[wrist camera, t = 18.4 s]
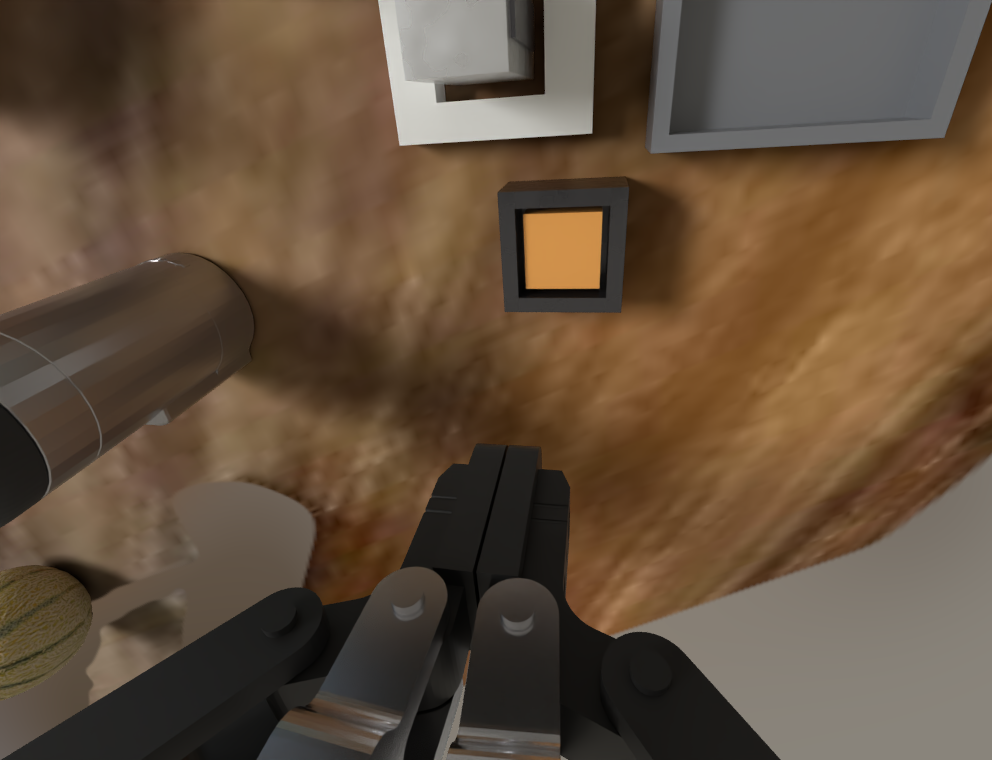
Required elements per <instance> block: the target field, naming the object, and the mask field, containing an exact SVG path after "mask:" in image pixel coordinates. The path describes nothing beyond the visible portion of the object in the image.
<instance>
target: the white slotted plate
mask: <svg viewBox="0 0 992 760" xmlns="http://www.w3.org/2000/svg"><path fill="white" fill-rule="evenodd" d="M378 2H379V9H380V16H381V22H382V29H383V36H384V43H385V49H386V56H387V63H388V70H389V76H390V83H391V90H392V97H393V104H394V110H395V117H396V124H397V131H398V137H399V144H400V146H401V145H417V144H433V143H449V142H465V141H481V140H497V139H513V138H529V137H545V136H561V135H577V134H592V128H593V93H594V58H595V23H596V0H544V49H545V94H543V95H530V96H517V97H505V98H492V99H479V100H467V101H454V102H446V96H445V86H444V84H436V83H425V82H414V81H405V75H404V67H403V60H402V52H401V45H400V38H399V30H398V23H397V15H396V8H395V0H378Z"/></svg>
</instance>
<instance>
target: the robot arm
mask: <svg viewBox="0 0 992 760" xmlns="http://www.w3.org/2000/svg"><path fill="white" fill-rule="evenodd" d="M253 335H254V320H253V315H252V312H251V309H250V306H249V303H248V302H247V300H246V298H245V296H244V294H243V292H242V291H241V290H240V288H239V287H238V286H237V284H236V283H235V282H234V281H233V280H232V279H231V278H230V277H229V276H228V275H227V274H226V273H225V272H224V271H223V270H221V269H220V268H219V267H217V266H216V265H215V264H213V263H211V262H209V261H207V260H205V259H203V258H201V257H198V256H195V255H192V254H187V253H172V254H167V255H164V256H161V257H159V258H156V259H153V260H152V259H151V260H148V261H145V262H143V263H140V264H139V265H136V266H134V267H131V268H128V269H125V270H122V271H120V272H117V273H114V274H111V275H109V276H106V277H103V278H100V279H98V280H95V281H92V282H89V283H87V284H84V285H81V286H78V287H75V288H73V289H70V290H67V291H64V292H62V293H59V294H56V295H53V296H51V297H48V298H45V299H42V300H40V301H37V302H34V303H31V304H29V305H26V306H23V307H20V308H18V309H15V310H12V311H9V312H7V313H4V314H1V315H0V528H1V527H2V526H4V525H6V524H7V523H9V522H10V521H12V520H13V519H15V518H16V517H18V516H19V515H20V514H22V513H23V512H25V511H26V510H27V509H29V508H30V507H31V506H33V505H34V504H36V503H37V502H38V501H40V500H41V499H42V498H44V497H45V496H47V495H48V494H49V493H51V492H52V491H53V490H55V489H56V488H58V487H59V486H60V485H62V484H63V483H65V482H66V481H67V480H69V479H70V478H72V477H73V476H74V475H76V474H77V473H78V472H80V471H81V470H83V469H84V468H85V467H87V466H88V465H90V464H91V463H92V462H93V461H95V460H96V459H98V458H99V457H100V456H102V455H103V454H105V453H106V452H107V451H109V450H110V449H112V448H113V447H114V446H116V445H117V444H118V443H120V442H121V441H123V440H124V439H125V438H127V437H128V436H130V435H131V434H132V433H134V432H135V431H137V430H138V429H139V428H141V427H142V426H143V425H166V424H168V423H170V422H171V421H173V420H174V419H175V418H177V417H178V416H179V415H181V414H182V413H183V412H185V411H186V410H187V409H189V408H190V407H191V406H192V405H194V404H195V403H196V402H198V401H199V400H200V399H202V398H203V397H204V396H206V395H207V394H208V393H210V392H211V391H212V390H214V389H215V388H216V387H218V386H219V385H220V384H222V383H223V382H224V381H225V380H227V379H228V378H229V377H231V376H232V375H233V374H235V373H236V372H237V371H239V370H240V369H241V368H243V367H244V366H245V365H247V364H248V363H249V362H251V360H252V358H251V356H250V352H249V348H250V345H251V342H252V339H253ZM569 529H570V486H569V484H568V482H567V480H566V478H565V476H564V474H563V472H562V471H559V470H544V469H542V456H541V447H533V446H516V445H509V447H508V445H496V444H479V443H478V444H476V446H475V448H474V451H473V453H472V456H471V459H470V462H469V465H467V464H453V465H451V466H450V467H449V468H448V469H447V470H446V471H445V472H444V473H443V474H442V475H441V476H440V477H439V478H438V481H437V483H436V485H435V488H434V490H433V493H432V497H431V498H430V500H429V502H428V504H427V507H426V512H425V513H424V514H423V516H422V519H421V521H420V524H419V526H418V528H417V531H416V533H415V535H414V538H413V540H412V543H411V545H410V547H409V550H408V552H407V554H406V557H405V559H404V562H403V564H402V566H401V568H400V570H397V571H395V572H393V573H391V574H390V575H388V576H387V577H385V578H384V579H383V580H382V581H381V582H380V583H379V584H378V585H377V586H376V588H375V589H374V591H373V592H372V594H371V595H369V596H366V597H364V598H360V599H356V600H351V601H345V602H340V603H335V604H329V605H324V606H323V605H322V602H321V600H320V598H319V597H318V596H317V594H316V593H314V592H313V591H311V590H309V589H306V588H288V589H284V590H280V591H278V592H276V593H273V594H271V595H270V596H268V597H266V598H264V599H263V600H261V601H259V602H258V603H256V604H255V605H253V606H252V607H250V608H248V609H246V610H245V611H243V612H241V613H240V614H238V615H237V616H235V617H233V618H232V619H230V620H229V621H227V622H225V623H224V624H222V625H220V626H219V627H217V628H216V629H214V630H212V631H211V632H209V633H207V634H206V635H204V636H202V637H201V638H199V639H197V640H196V641H194V642H193V643H191V644H189V645H188V646H186V647H184V648H183V649H181V650H180V651H178V652H176V653H175V654H173V655H171V656H170V657H168V658H166V659H165V660H163V661H162V662H160V663H158V664H157V665H155V666H153V667H152V668H150V669H149V670H147V671H145V672H144V673H142V674H140V675H139V676H137V677H135V678H134V679H132V680H131V681H129V682H127V683H126V684H124V685H122V686H121V687H119V688H118V689H116V690H114V691H113V692H111V693H109V694H108V695H106V696H105V697H103V698H101V699H100V700H98V701H96V702H95V703H93V704H91V705H90V706H88V707H87V708H85V709H83V710H82V711H80V712H78V713H77V714H75V715H74V716H72V717H70V718H69V719H67V720H65V721H64V722H62V723H61V724H59V725H57V726H56V727H54V728H52V729H51V730H49V731H48V732H46V733H44V734H43V735H41V736H39V737H38V738H36V739H34V740H33V741H31V742H29V743H28V744H26V745H25V746H23V747H22V748H20V749H18V750H17V751H15V752H13V753H12V754H10V755H8V756H7V757H5V758H3V759H2V760H442V758H443V754H444V751H445V748H446V744H447V741H448V738H449V734H450V731H451V728H452V725H453V721H454V718H455V714H456V711H457V708H458V705H459V701H460V698H461V695H462V690H463V678H462V677H463V673H464V668H465V664H466V660H467V655H468V651H469V650H471V653H470V659H469V666H468V672H467V679H466V685H465V692H464V698H463V705H462V712H461V718H460V724H459V730H458V734H457V737H456V740H455V741H454V742H452V744H451V745H450V748H449V751H448V754H447V758H446V760H560V755H561V756H563V757H565V758H566V759H568V760H780V759H779V758H778V756H776V754H775V753H774V752H773V751H772V750H771V749H770V748H769V746H768V745H767V744H766V743H765V742H764V741H763V740H762V739H761V738H760V737H759V735H758V734H757V733H756V732H755V731H754V730H753V729H752V728H751V727H750V725H749V724H748V723H747V722H746V721H745V720H744V719H743V718H742V717H741V715H740V714H739V713H738V712H737V711H736V710H735V709H734V708H733V707H732V705H731V704H730V703H729V702H728V701H727V700H726V699H725V698H724V697H723V696H722V694H721V693H720V692H719V691H718V690H717V689H716V688H715V687H714V685H713V684H712V683H711V682H710V681H709V680H708V679H707V678H706V677H705V676H704V674H703V673H702V672H701V671H700V670H699V669H698V668H697V667H696V666H695V664H693V662H692V661H691V660H690V659H689V658H688V657H687V656H686V654H685V653H684V652H683V651H682V650H680V649H679V648H678V647H677V646H676V645H675V644H673V643H672V642H670V641H669V640H667V639H665V638H663V637H661V636H658V635H655V634H651V633H647V632H632V633H628V634H625V635H623V636H621V637H618V638H617V639H615V638H613V637H611V636H609V635H606V634H604V633H602V632H600V631H598V630H596V629H594V628H592V627H590V626H588V625H587V624H585V623H584V622H583V621H581V620H580V619H579V618H578V617H577V616H576V615H575V614H574V612H573V611H572V610H571V609H570V607H569V605H568V603H567V601H566V598H565V596H566V580H567V565H568V550H569Z"/></svg>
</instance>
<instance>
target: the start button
mask: <svg viewBox="0 0 992 760" xmlns="http://www.w3.org/2000/svg"><path fill="white" fill-rule="evenodd" d="M602 213H603V210H602V206H585V207H557V208H528V209H526V211H525V212H524V214H523V224H524V251H525V278H526V289H599V287H600V262H601V238H602Z"/></svg>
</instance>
